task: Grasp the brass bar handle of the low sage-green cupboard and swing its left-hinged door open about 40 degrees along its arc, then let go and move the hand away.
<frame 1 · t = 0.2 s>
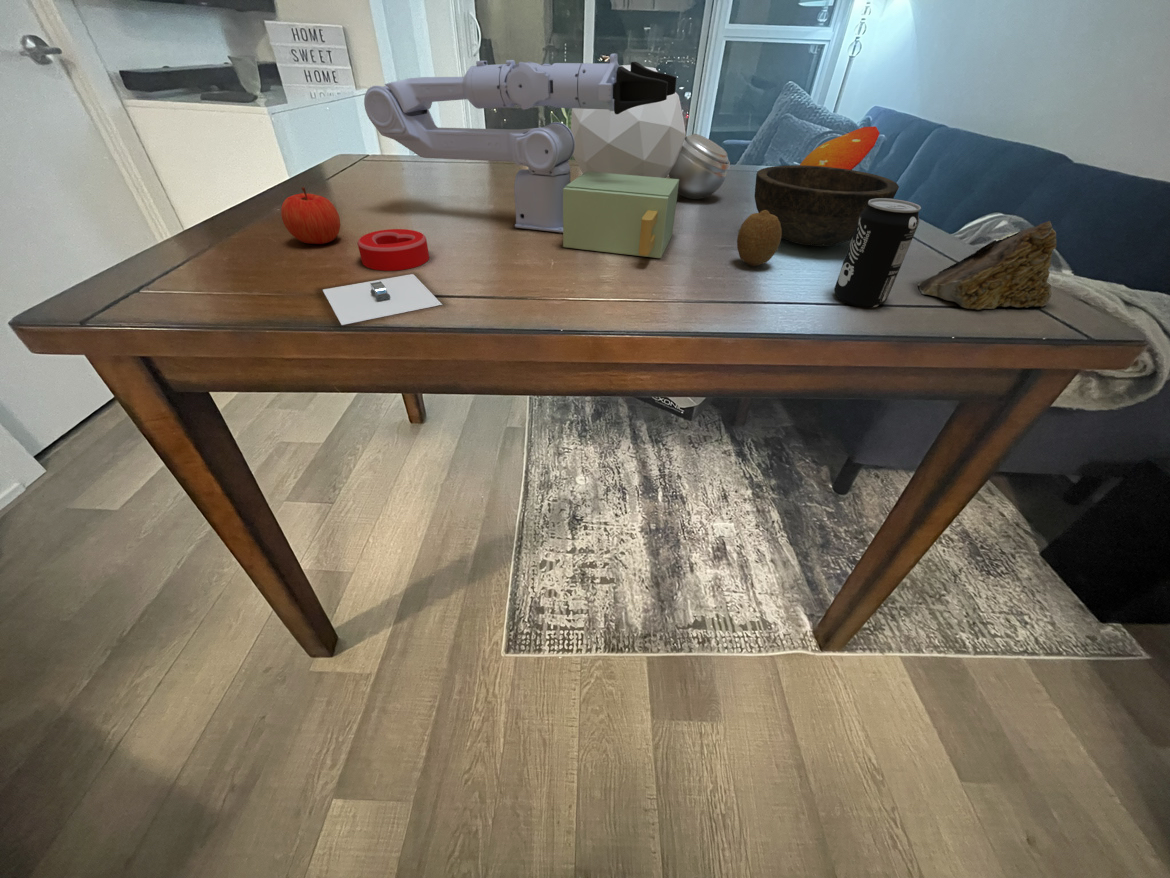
hand: (671, 88, 74), 21 cm above the table, tool horizontal, fingers open, 7 cm apart
apple: (319, 243, 81), on the table
cupboard door: (609, 227, 75), point 5 cm above the table, hinge at 0.0°
decorative ornament: (396, 260, 75), on the table
lamp: (646, 197, 110), on the table
white paper sheet: (381, 298, 64), on the table
cupboard: (620, 240, 85), on the table
bowl: (806, 242, 87), on the table
mineral specimen: (978, 295, 70), on the table
fruit: (752, 266, 77), on the table
beverage can: (857, 300, 68), on the table
decorative mushroom: (813, 208, 107), on the table
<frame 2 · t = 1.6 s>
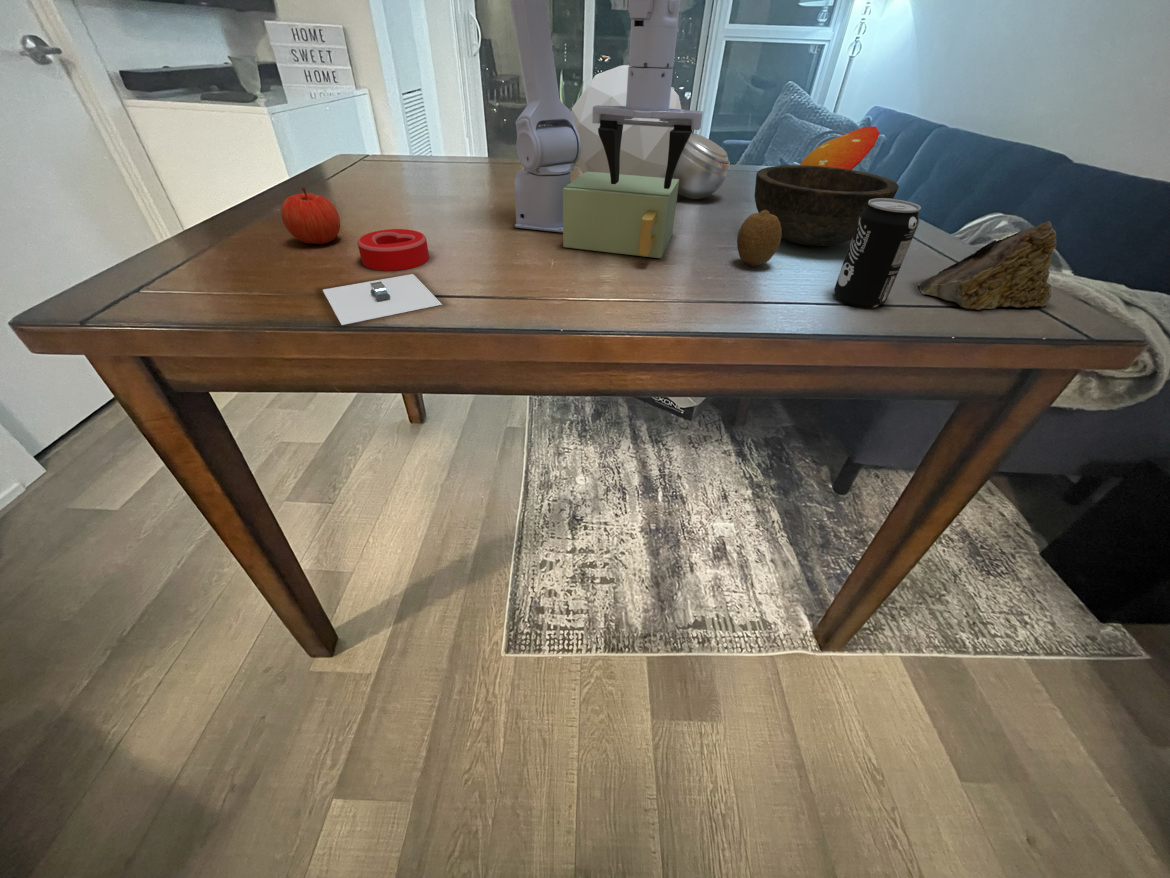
hand: (640, 185, 72), 10 cm above the table, tool pointing down, fingers open, 7 cm apart
nothing on the table moved.
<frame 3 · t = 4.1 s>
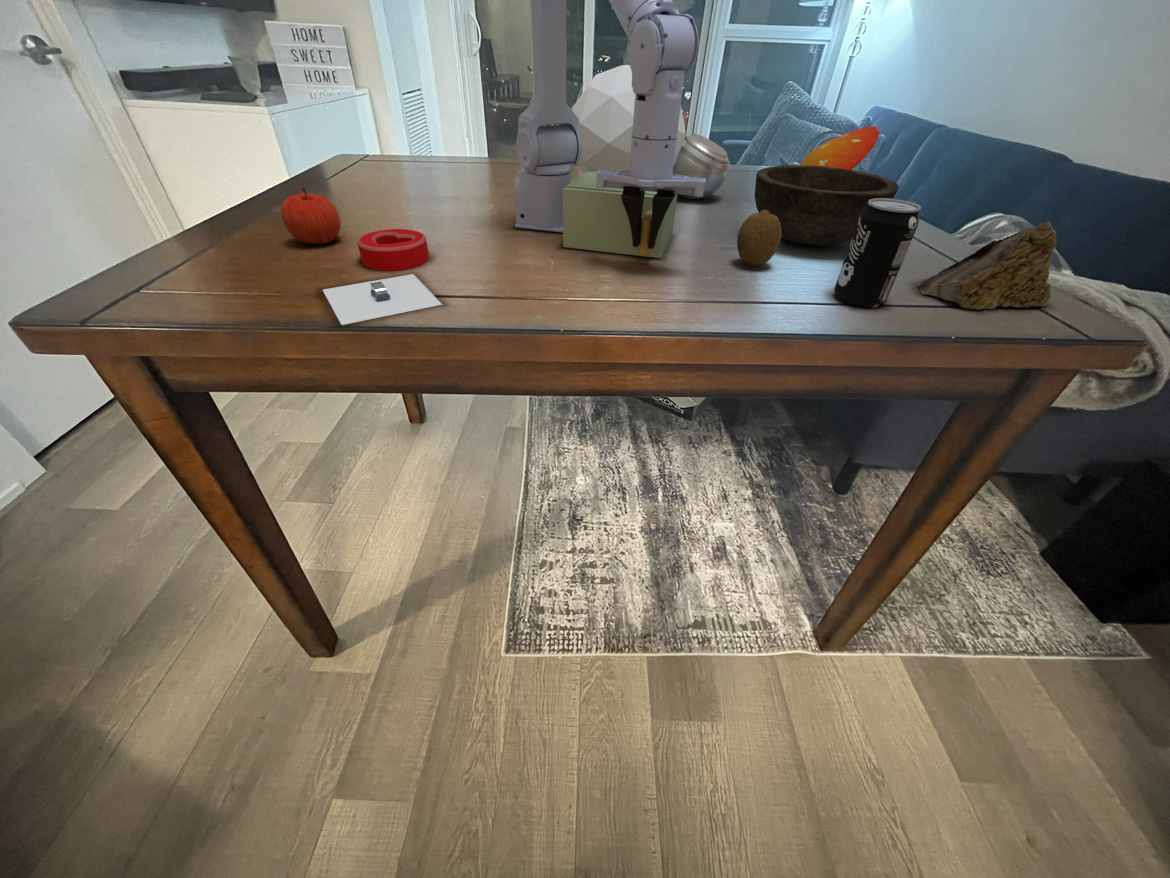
hand: (643, 245, 72), 3 cm above the table, tool pointing down, fingers closed on cupboard door, 2 cm apart
cupboard door: (609, 227, 75), point 5 cm above the table, hinge at 0.0°, touching gripper
everything else where it was.
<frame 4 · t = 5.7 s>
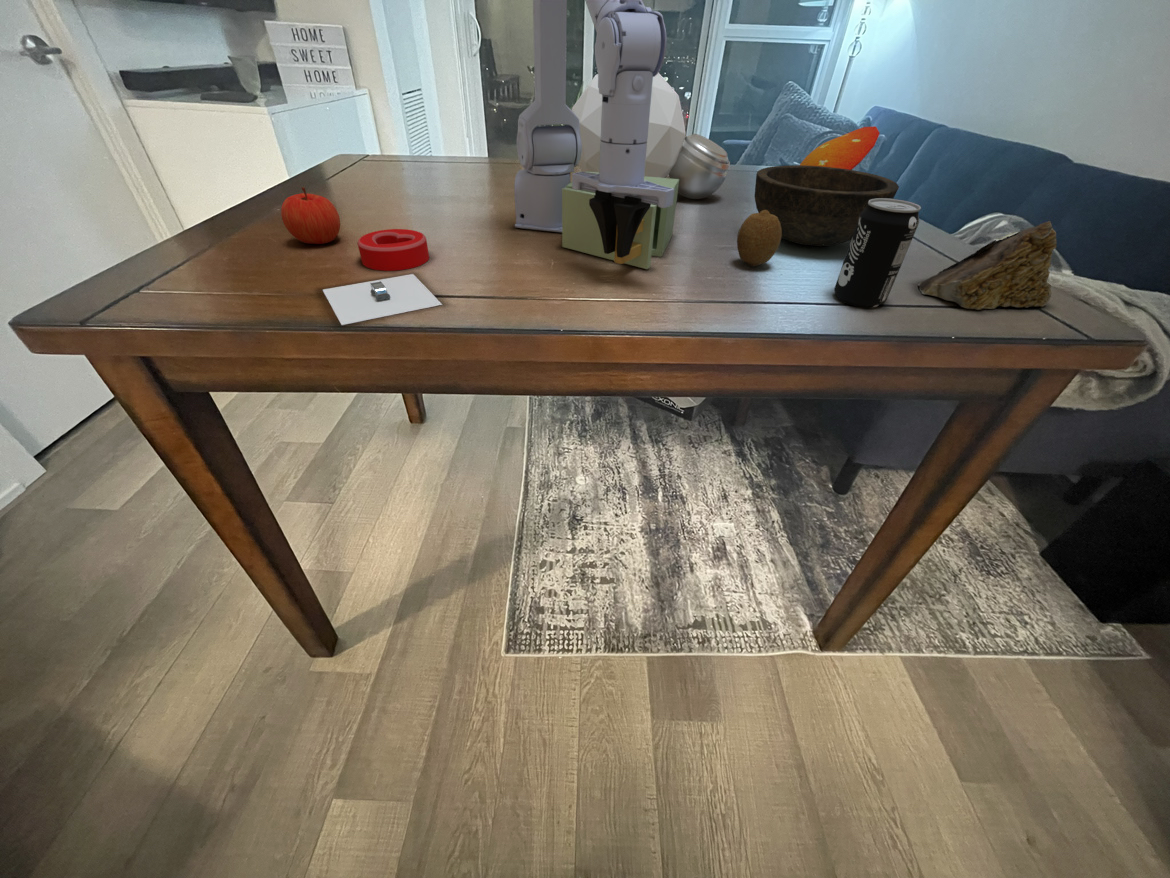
hand: (616, 253, 69), 3 cm above the table, tool pointing down, fingers closed on cupboard door, 2 cm apart
cupboard door: (595, 231, 74), point 5 cm above the table, hinge at 20.5°, touching gripper
everything else where it was.
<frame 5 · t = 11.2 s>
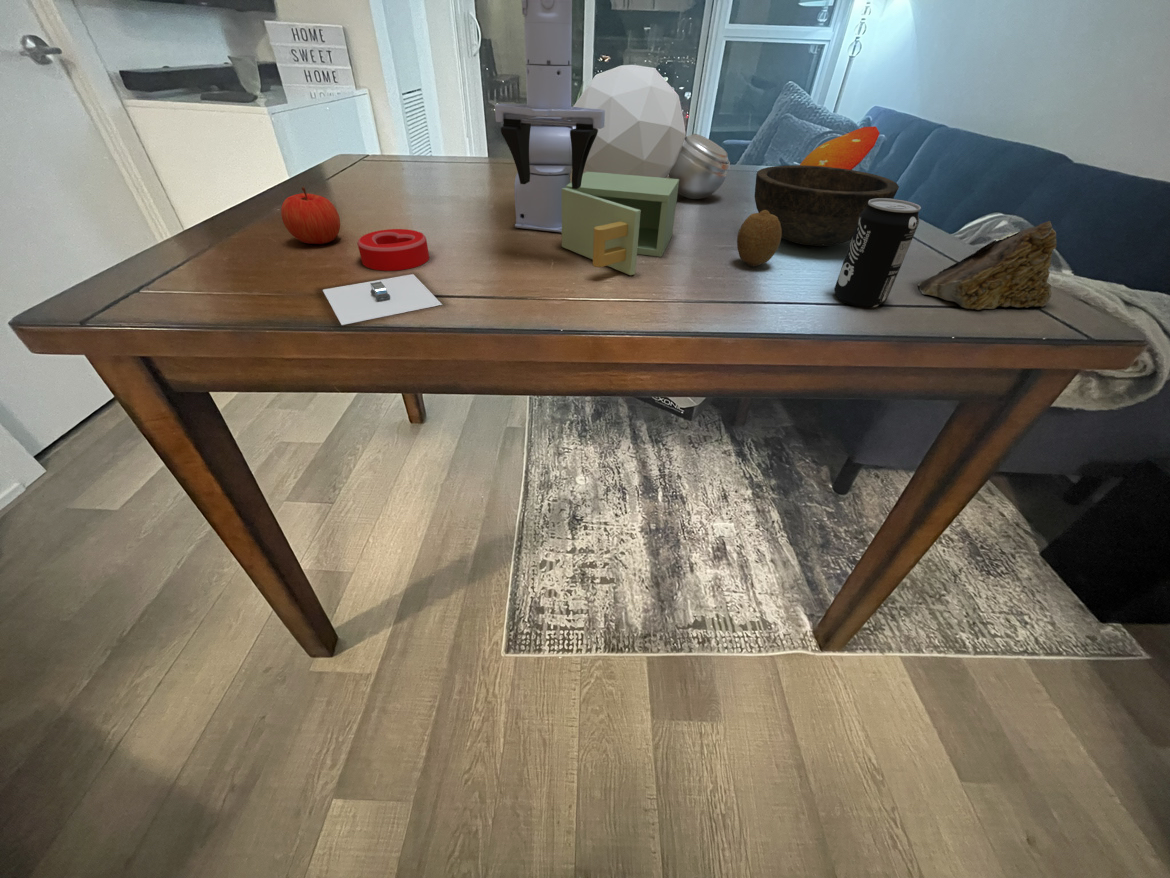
hand: (550, 185, 70), 10 cm above the table, tool pointing down, fingers open, 7 cm apart
cupboard door: (583, 233, 73), point 5 cm above the table, hinge at 33.9°
everything else where it was.
at the end: cupboard door at +34° (first picture: +0°) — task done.
